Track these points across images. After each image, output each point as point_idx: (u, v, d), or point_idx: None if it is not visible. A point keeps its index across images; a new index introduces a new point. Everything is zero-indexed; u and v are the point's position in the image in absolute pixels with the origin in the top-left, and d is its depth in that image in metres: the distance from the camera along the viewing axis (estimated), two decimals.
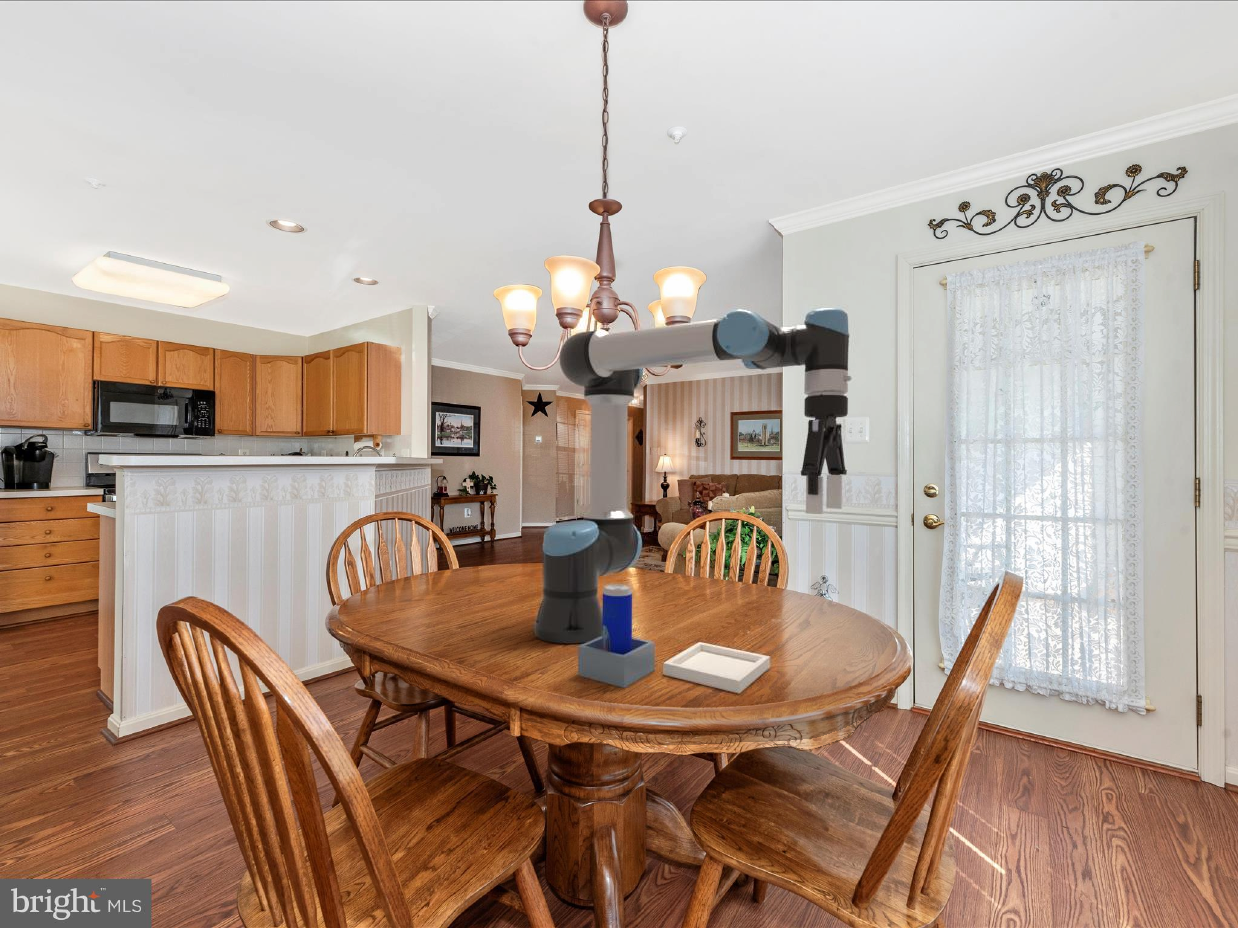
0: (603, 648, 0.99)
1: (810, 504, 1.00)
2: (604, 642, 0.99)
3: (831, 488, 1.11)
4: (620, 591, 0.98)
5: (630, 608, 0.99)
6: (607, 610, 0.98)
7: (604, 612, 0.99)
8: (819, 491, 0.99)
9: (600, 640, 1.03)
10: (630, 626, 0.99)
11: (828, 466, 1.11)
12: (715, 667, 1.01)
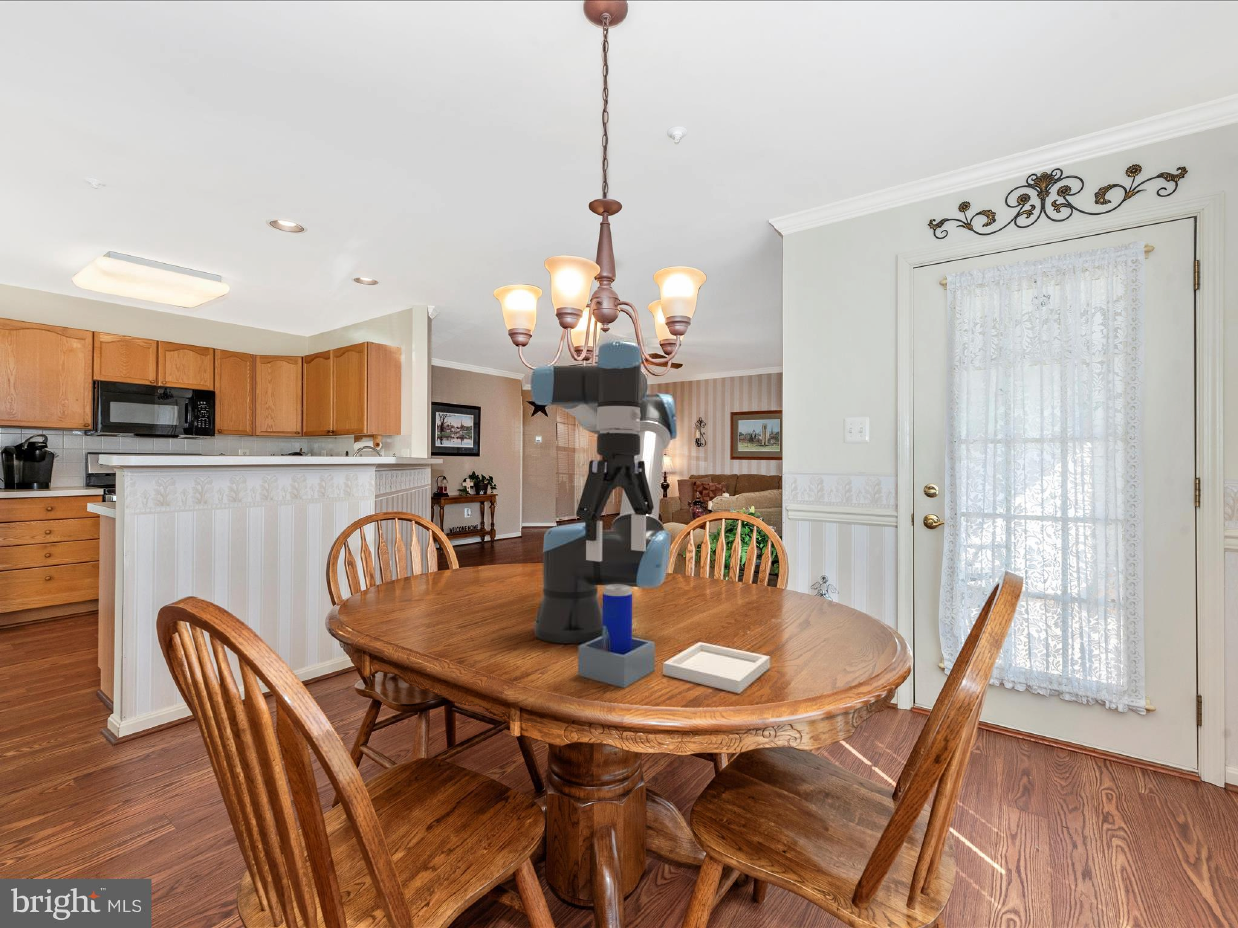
0: (603, 648, 0.99)
1: (590, 550, 0.94)
2: (604, 642, 0.99)
3: (635, 529, 1.05)
4: (620, 591, 0.98)
5: (630, 608, 0.99)
6: (607, 610, 0.98)
7: (604, 612, 0.99)
8: (597, 537, 0.93)
9: (600, 640, 1.03)
10: (630, 626, 0.99)
11: (632, 505, 1.05)
12: (715, 667, 1.01)
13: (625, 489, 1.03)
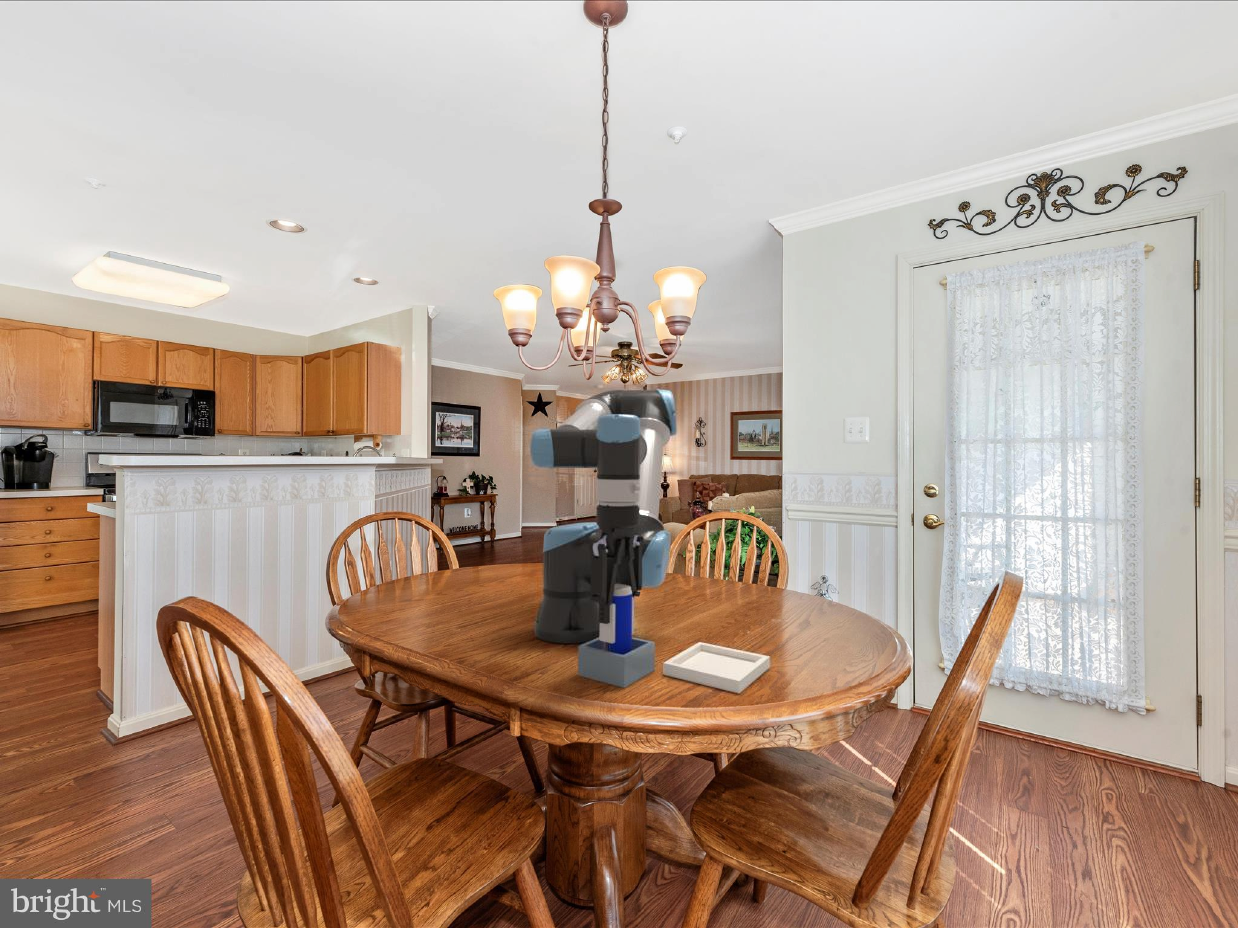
0: (603, 648, 0.99)
1: (603, 631, 0.98)
2: (604, 642, 0.99)
3: None
4: (620, 591, 0.98)
5: (630, 608, 0.99)
6: None
7: None
8: (610, 619, 0.97)
9: None
10: (630, 626, 0.99)
11: (621, 583, 1.03)
12: (715, 667, 1.01)
13: (619, 562, 1.02)
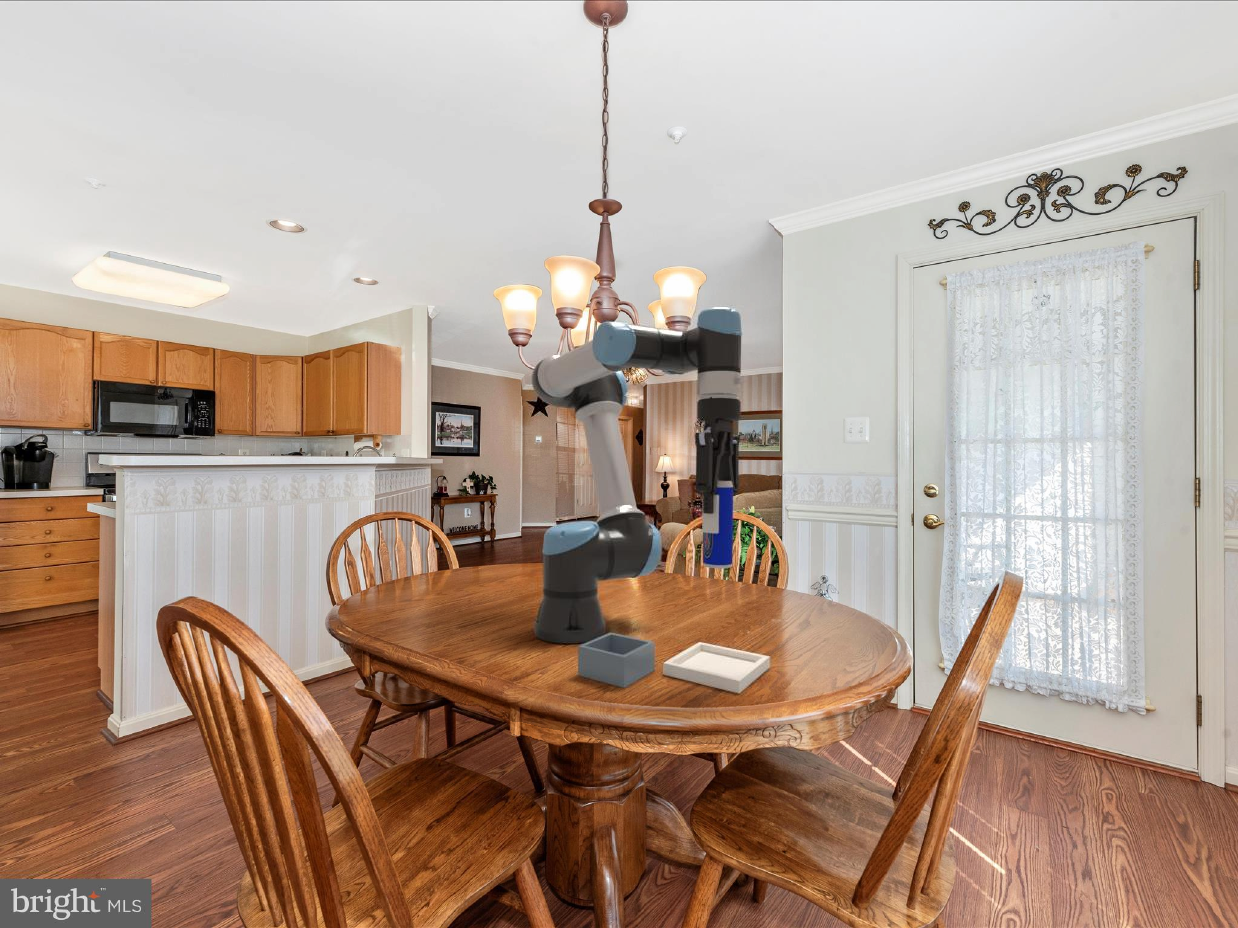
0: (705, 541, 1.00)
1: (706, 523, 0.99)
2: (706, 534, 1.00)
3: None
4: (723, 483, 0.99)
5: (732, 501, 1.00)
6: None
7: None
8: (714, 510, 0.98)
9: (600, 640, 1.03)
10: (732, 519, 1.00)
11: (719, 480, 1.04)
12: (715, 667, 1.01)
13: None
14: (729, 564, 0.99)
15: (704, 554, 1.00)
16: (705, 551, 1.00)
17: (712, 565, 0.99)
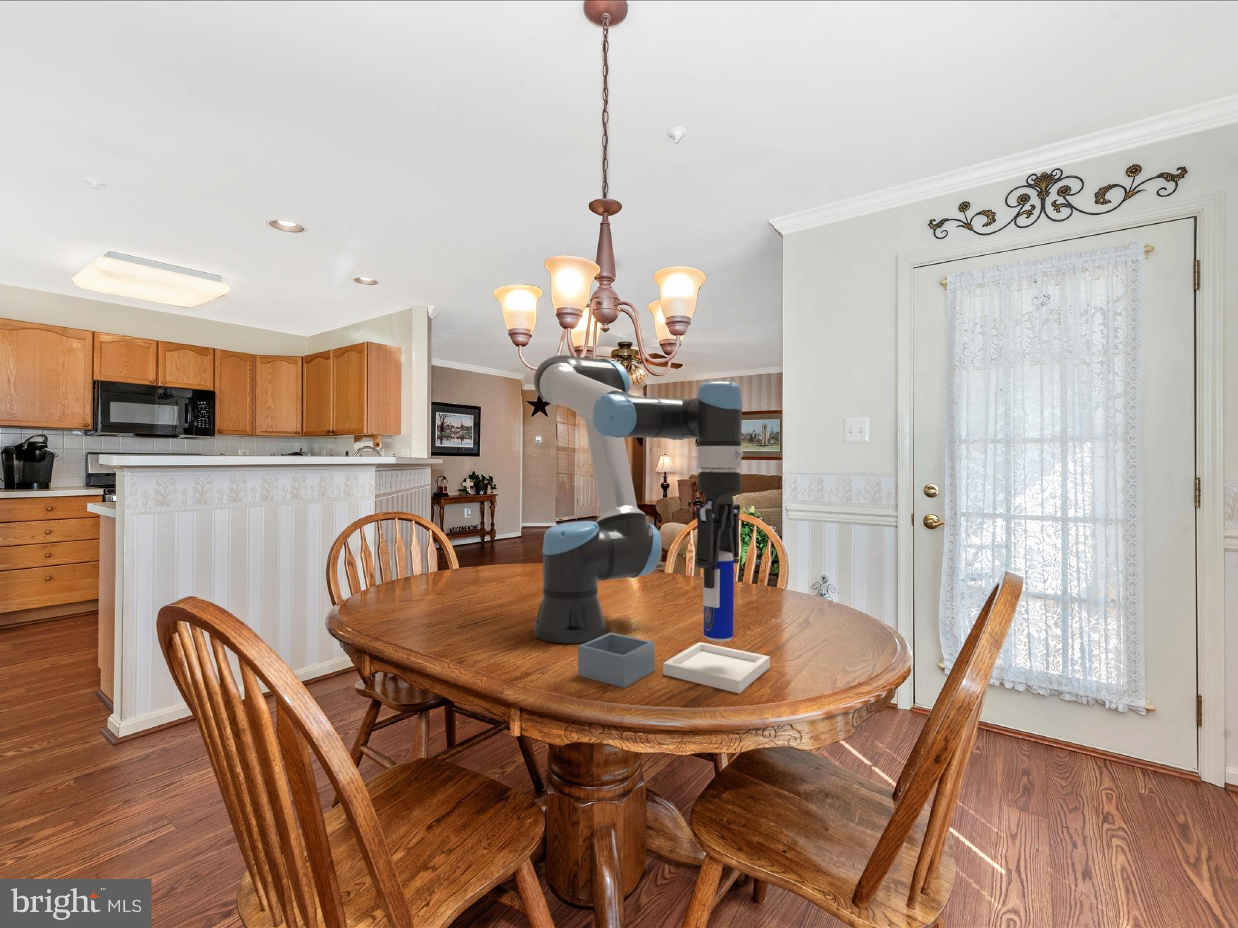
0: (706, 613, 1.00)
1: (707, 596, 0.99)
2: (707, 607, 1.00)
3: None
4: (724, 556, 0.99)
5: (733, 573, 1.00)
6: None
7: None
8: (715, 584, 0.98)
9: (600, 640, 1.03)
10: (733, 591, 1.00)
11: (720, 550, 1.04)
12: (715, 667, 1.01)
13: None
14: (730, 637, 0.99)
15: (705, 627, 1.00)
16: (706, 624, 1.00)
17: (713, 638, 0.99)
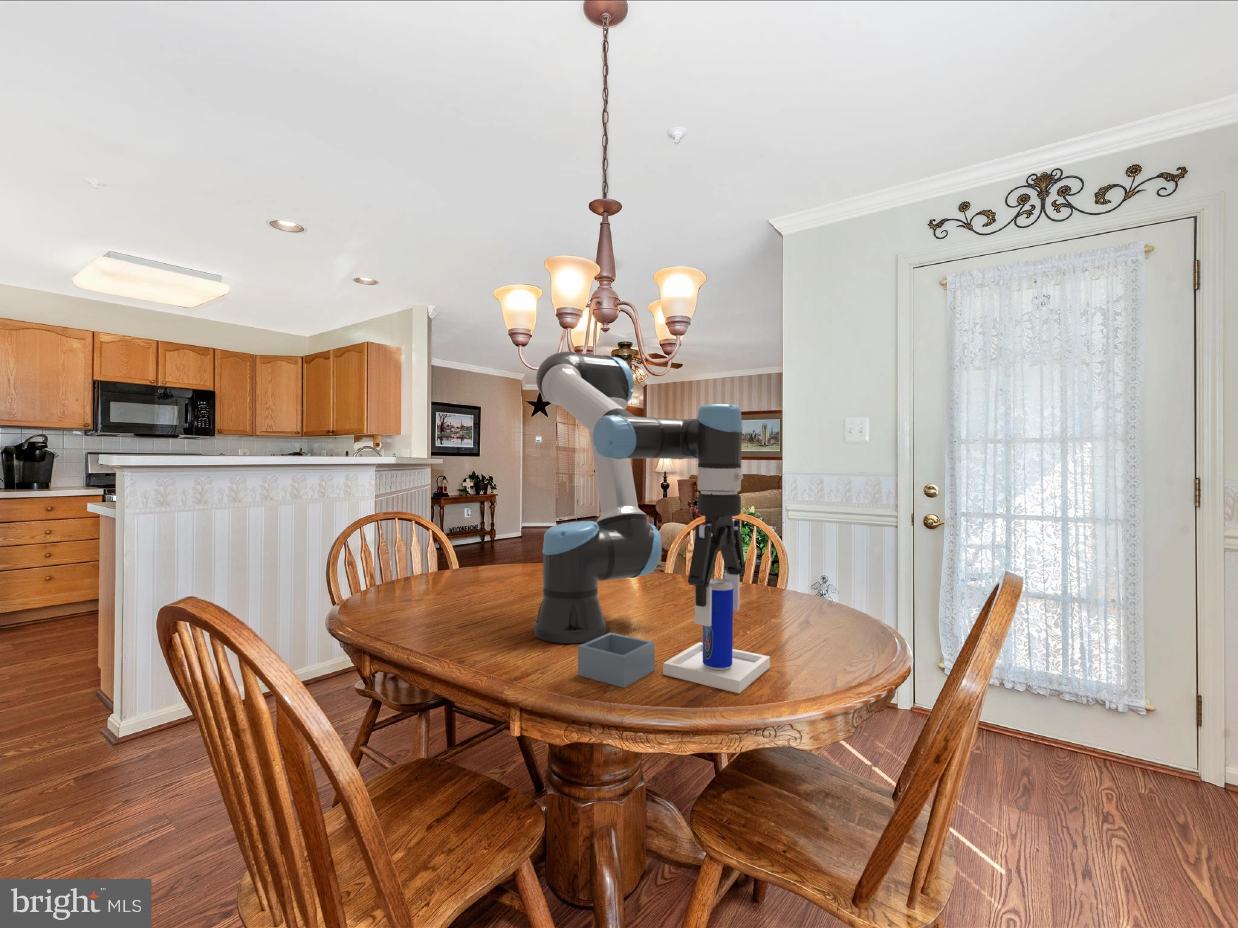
0: (705, 642, 1.00)
1: (699, 614, 0.96)
2: (706, 635, 1.00)
3: None
4: (723, 585, 0.99)
5: (732, 602, 1.00)
6: None
7: None
8: (707, 602, 0.95)
9: (600, 640, 1.03)
10: (732, 620, 1.00)
11: (725, 564, 1.06)
12: None
13: (721, 547, 1.04)
14: (729, 666, 1.00)
15: (704, 655, 1.00)
16: (705, 652, 1.00)
17: (712, 667, 0.99)
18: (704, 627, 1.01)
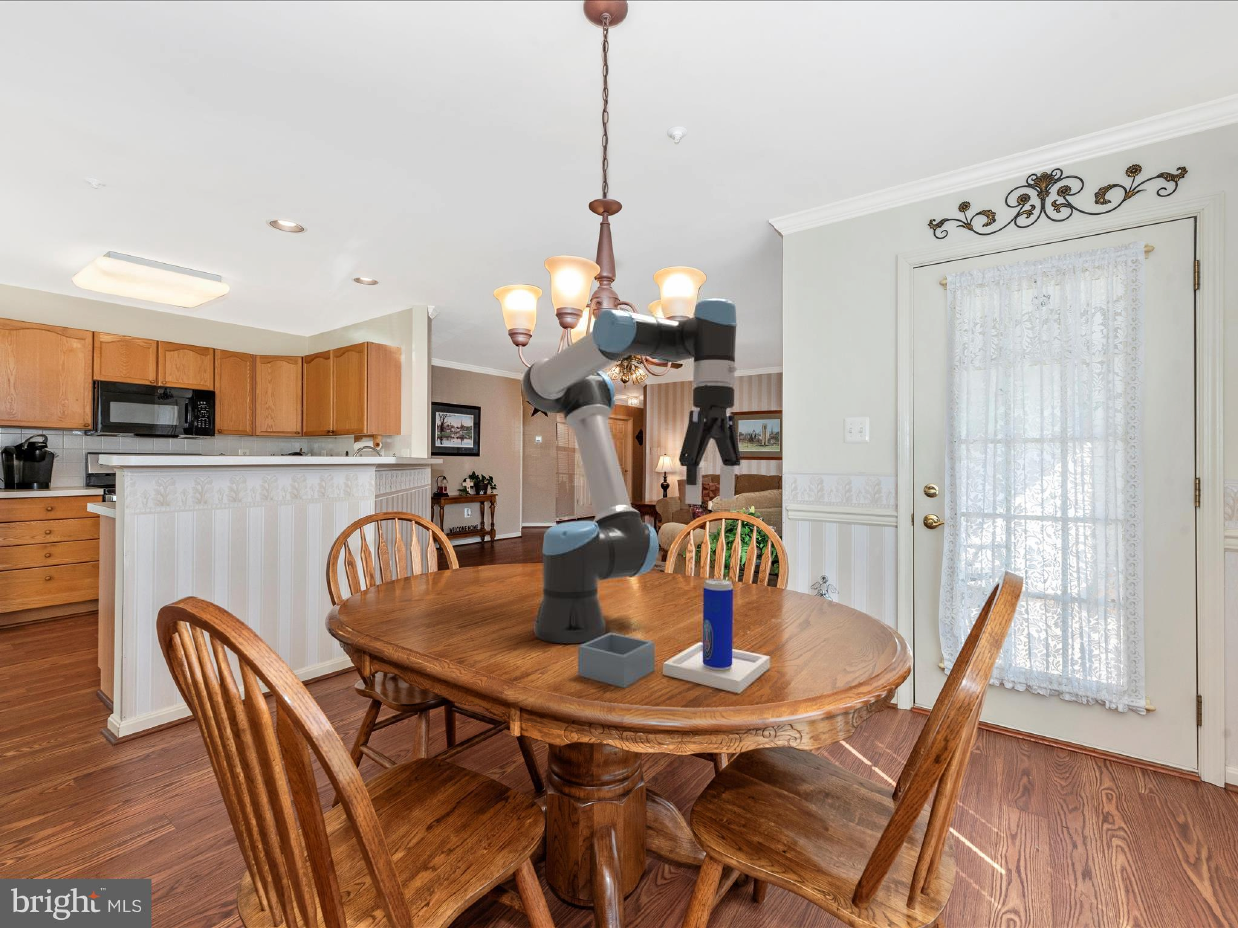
0: (705, 642, 1.00)
1: (689, 494, 1.01)
2: (706, 635, 1.00)
3: (724, 479, 1.12)
4: (723, 585, 0.99)
5: (732, 602, 1.00)
6: (710, 604, 0.99)
7: (706, 606, 1.00)
8: (697, 481, 1.00)
9: (600, 640, 1.03)
10: (732, 620, 1.00)
11: (721, 457, 1.12)
12: None
13: (717, 441, 1.09)
14: (729, 666, 1.00)
15: (704, 655, 1.00)
16: (705, 652, 1.00)
17: (712, 667, 0.99)
18: (704, 627, 1.01)
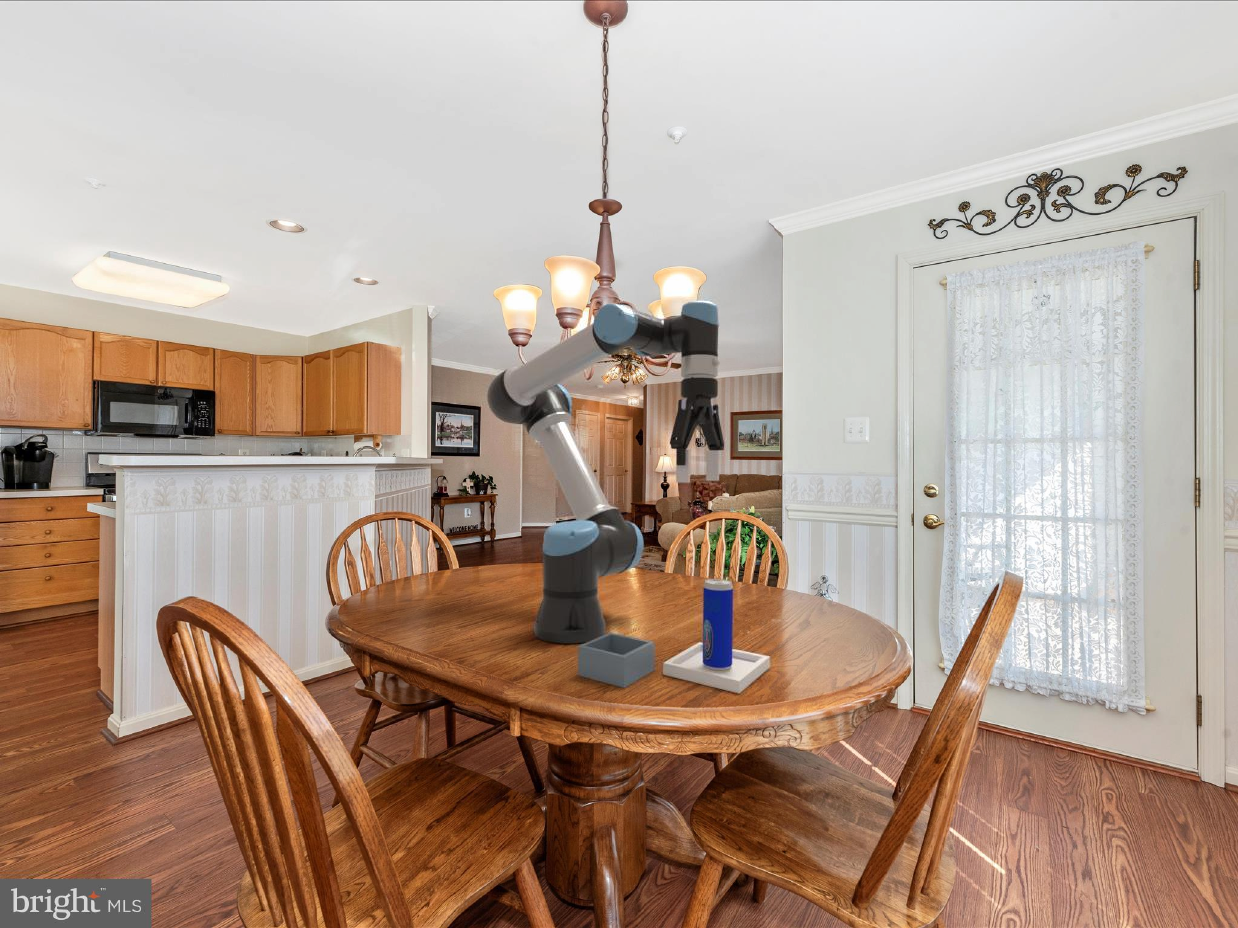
0: (705, 642, 1.00)
1: (679, 474, 1.13)
2: (706, 635, 1.00)
3: (710, 462, 1.24)
4: (723, 585, 0.99)
5: (732, 602, 1.00)
6: (710, 604, 0.99)
7: (706, 606, 1.00)
8: (686, 462, 1.12)
9: (600, 640, 1.03)
10: (732, 620, 1.00)
11: (707, 442, 1.24)
12: None
13: (702, 427, 1.22)
14: (729, 666, 1.00)
15: (704, 655, 1.00)
16: (705, 652, 1.00)
17: (712, 667, 0.99)
18: (704, 627, 1.01)
